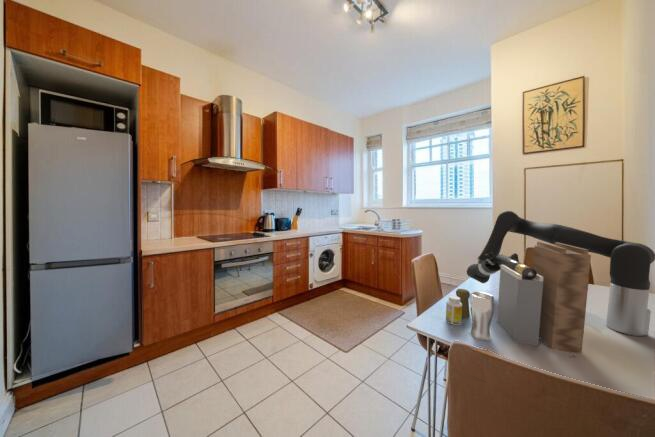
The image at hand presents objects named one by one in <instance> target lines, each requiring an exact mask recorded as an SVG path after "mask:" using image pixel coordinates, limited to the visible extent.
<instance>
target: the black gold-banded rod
mask: <svg viewBox="0 0 655 437" xmlns="http://www.w3.org/2000/svg"><path fill="white" fill-rule="evenodd" d="M507 256H508V255H505V254H503V253H502V254H500V253H499V255H498V256H497V257H496V261H497V262H498V263H499V264H501V265H505V266H507V267H508V268H510V269H512V270H514V271H516V272H517V273H519V274H521V275H522V277H524V278H526V279H528V280H531V279H534V278H535V277H536V276H537V272H536V271H535V270H534V269H533V267H530V266H529V265H526V264H523V263H522V262H520V261H519V262H518V261H516V260H513V259H511V258H509V257H507Z"/></svg>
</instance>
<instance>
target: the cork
mask: <svg viewBox="0 0 655 437" xmlns="http://www.w3.org/2000/svg"><path fill="white" fill-rule="evenodd" d="M455 294H456V295H455V296H457V297H459V298H460V302H461V303H462V319H470V318H471V311H470V304H469V303H470V302H469V298H470V296H471V292H470V291H469V290H467V289H465V288H457V289H456V290H455Z"/></svg>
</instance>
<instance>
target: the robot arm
mask: <svg viewBox="0 0 655 437" xmlns="http://www.w3.org/2000/svg"><path fill="white" fill-rule="evenodd" d="M508 233H515V234H518V235H519V234H520V235H524V236H528V237H531V238H534V239H537V240H538V241H541V242H544V243H547V244H551V245H554V246H555V242H558V243H562V244H566V245H571V246H575V247H579V248H583V249H587V250H589V251H588V253H593V254H596V255H600V256H603V257H606V258H609V259H610V260H609V261H610V262H609V277H610V284H609V295H608V303H607V313H606V324H605V326H606V327H608V328H609V329H611V330H613V331H616V332H619V333H623V334H626V335H629V336H634V337H644V336H649V330H650V321H651V313H652V311H651V310H650V309H648V308H649V300H650V298H649V296H650V287H651V282H650V270H651V264H652V263H654V261H655V252H654V251H653V250H652V248H651V247H649V246H647V245H645V244H642V243H640V242H639V243H638V242H631V241H627V240H626V241H625V240H619V239H616V238H615V239H614V238H609V237H605V236H601V235H597V234H594V233H592V232H589V231H584V230H582V229H578V228H574V227H571V226H568V225H567V226H566V225H562V224H557V223H550V222H549V223H548V222H546V223H544V222H535V221H532V220H527V219H525V218H523V217H520V216H519V215H518V214H517V213H515V212H514V211H512V210H505V211H501V213H499V214H498V216H497V218H496V219H495V223H494V226H493V229H492V231H491V233H490V236H489V238H488V241H487V242H486V245H485V246H484V248H483V250H482V251H481V253H480V255H479V256H478V257H477V263H473V264H470V265H469V266H468V267H467V269H466V275H467V276H468V277H470V278H471V279H473V280H475V281H477V282H479V283H481V284H486V283H488V282H489V280H490V278H491V275H495V274H496V273H498V272H500V268H501V264H499V263H498V262H497V261H496V257H497V256H498V255H500V253H501V249H502V246H503V242H504V239H505V237H506V235H507V234H508ZM506 256H507V257H509V258H511V259H513V260H516V261H518V262H520V260H519V255H518V254H517V253H513V254H511V255H509V256H508V255H506Z"/></svg>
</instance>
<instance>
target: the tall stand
mask: <svg viewBox="0 0 655 437" xmlns="http://www.w3.org/2000/svg"><path fill="white" fill-rule="evenodd" d="M588 251H589V250H587V249H583V248H579V247H575V246H571V245H566V244H562V243H558V242H555V245H554V244H550V243H548V242H544V241H536V244H535V245H534V250H533V264H532V268H533V269H534V270H535V271H536V272H537V274H539V275H541V276H543V290H542V302H541V315H540V328H539V340H541V341H542V342H543V343H544V344H545V345H546V346H547V347H549V348H550V349H551V350H554V351H560V352H561V351H562V352H569V353H575V354H576V353H577V354H582V353H583V344H584V335H585V334H584V332H585V324H586V323H585V321H586V311H587V301H588V293H589V292H588V290H589V279H590V271H591V270H590V269H591V259H592V254H589V252H588Z"/></svg>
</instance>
